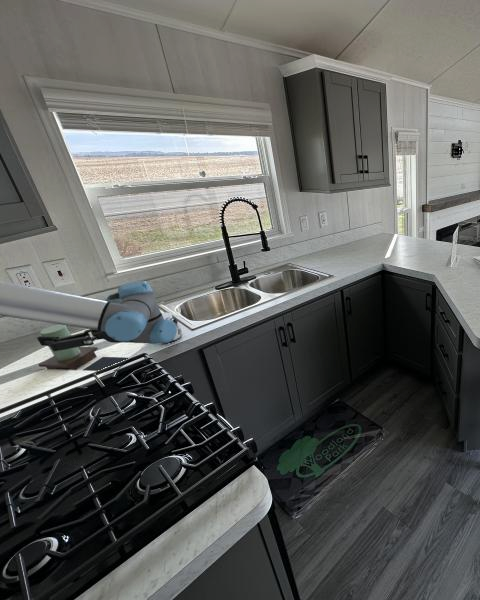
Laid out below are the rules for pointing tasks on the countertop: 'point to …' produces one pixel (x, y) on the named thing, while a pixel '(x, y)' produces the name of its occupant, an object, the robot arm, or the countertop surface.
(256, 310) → the countertop surface
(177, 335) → the spread jar
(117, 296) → the blue plant pot
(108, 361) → the mat
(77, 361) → the stand
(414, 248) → the countertop surface
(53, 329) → the sage green cylinder
